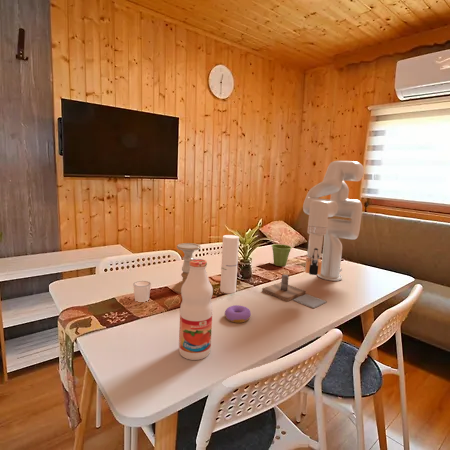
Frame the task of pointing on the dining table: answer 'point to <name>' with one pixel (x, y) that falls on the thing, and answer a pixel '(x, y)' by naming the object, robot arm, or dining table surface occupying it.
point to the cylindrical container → (229, 263)
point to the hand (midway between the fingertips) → (312, 271)
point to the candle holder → (185, 262)
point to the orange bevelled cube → (308, 263)
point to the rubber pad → (309, 301)
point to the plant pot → (280, 254)
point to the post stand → (284, 290)
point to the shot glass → (142, 291)
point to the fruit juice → (196, 313)
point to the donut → (237, 314)
